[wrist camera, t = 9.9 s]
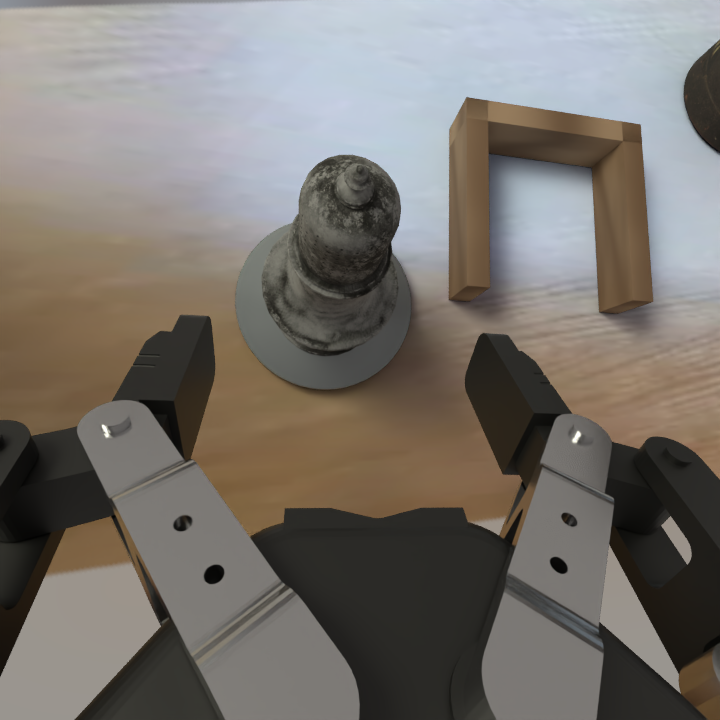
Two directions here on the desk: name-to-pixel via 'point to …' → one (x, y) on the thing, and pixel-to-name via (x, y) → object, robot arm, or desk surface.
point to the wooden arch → (561, 145)
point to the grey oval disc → (298, 363)
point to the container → (705, 95)
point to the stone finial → (336, 259)
